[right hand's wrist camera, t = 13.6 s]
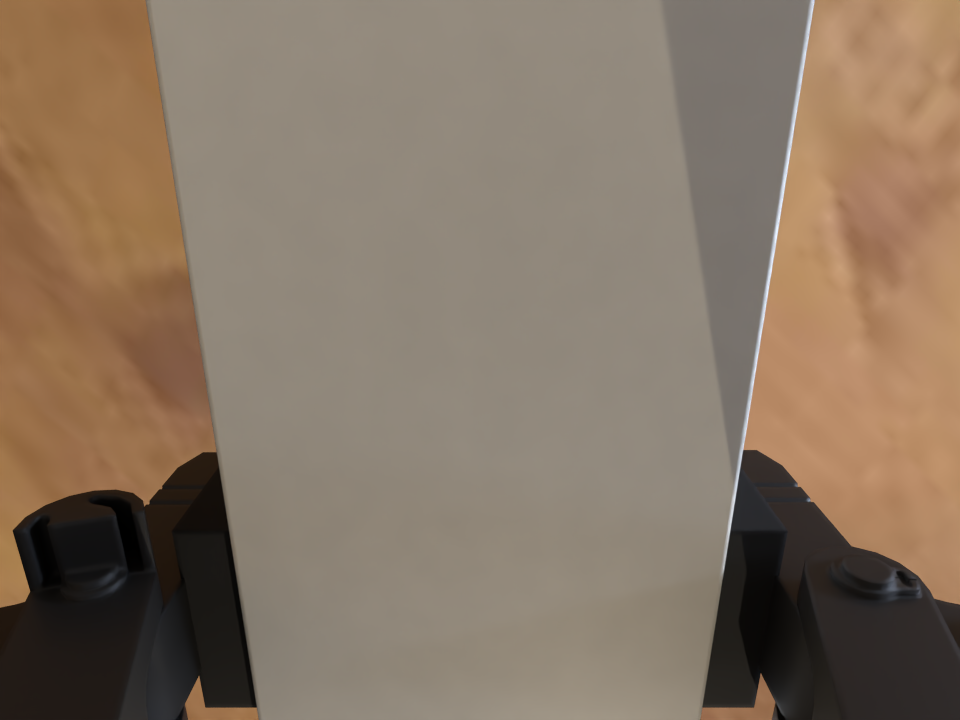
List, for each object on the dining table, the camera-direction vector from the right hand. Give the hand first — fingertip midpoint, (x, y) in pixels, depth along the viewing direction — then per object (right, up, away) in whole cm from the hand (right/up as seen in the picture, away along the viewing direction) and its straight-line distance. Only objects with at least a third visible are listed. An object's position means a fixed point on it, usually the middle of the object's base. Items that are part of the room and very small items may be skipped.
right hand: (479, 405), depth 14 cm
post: (0, +27, -10) cm, 29 cm away
